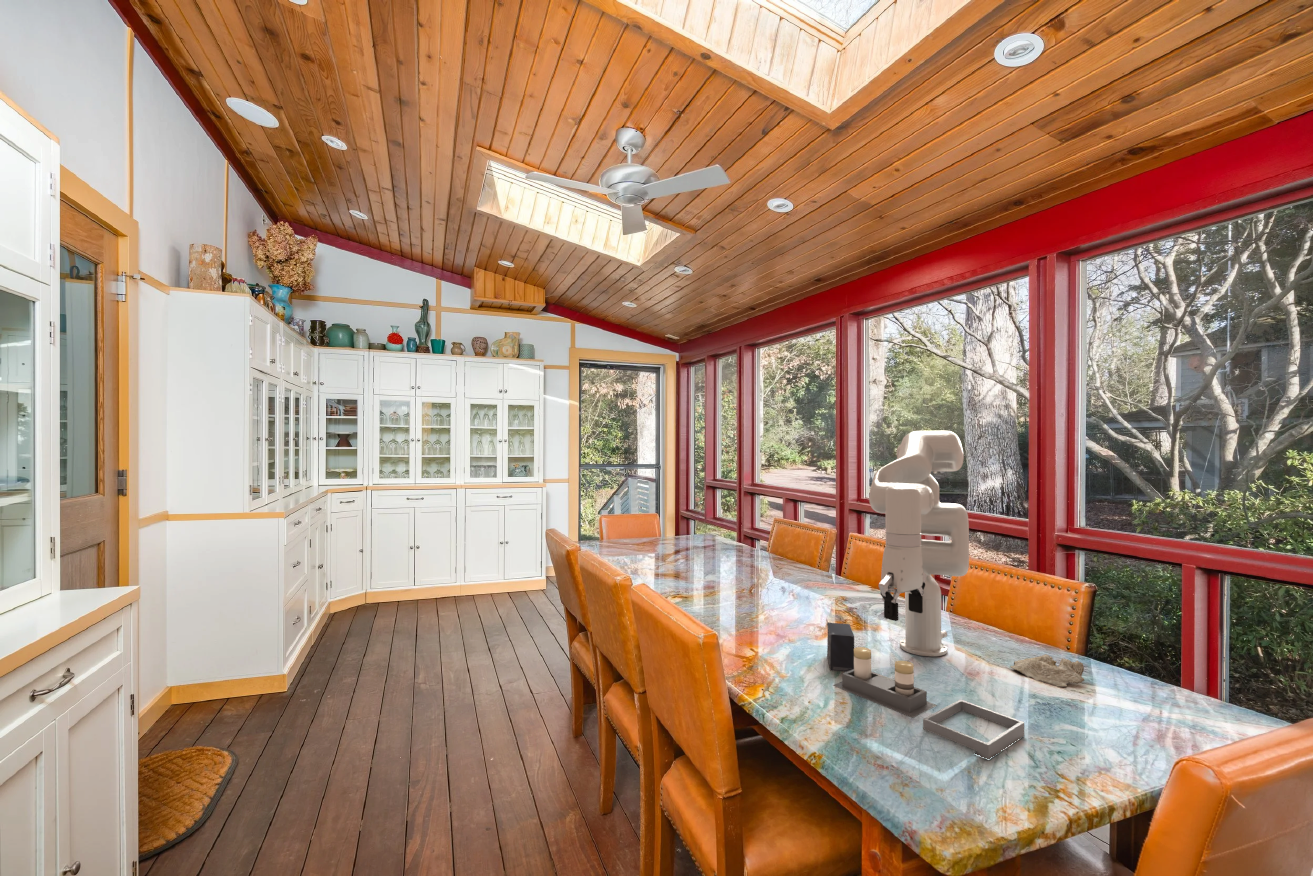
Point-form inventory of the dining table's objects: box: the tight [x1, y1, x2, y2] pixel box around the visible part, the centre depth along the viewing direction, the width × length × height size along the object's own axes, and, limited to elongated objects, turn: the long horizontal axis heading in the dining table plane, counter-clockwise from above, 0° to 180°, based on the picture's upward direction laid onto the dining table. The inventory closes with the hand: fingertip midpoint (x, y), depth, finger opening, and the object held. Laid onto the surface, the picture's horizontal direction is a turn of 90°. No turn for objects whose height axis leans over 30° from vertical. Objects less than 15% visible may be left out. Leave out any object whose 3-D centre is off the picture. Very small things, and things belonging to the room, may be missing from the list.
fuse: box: [854, 646, 872, 681], centre depth 145 cm, size 4×4×9 cm
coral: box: [1009, 654, 1085, 688], centre depth 155 cm, size 18×16×5 cm
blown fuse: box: [894, 660, 915, 697], centre depth 136 cm, size 4×4×9 cm
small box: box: [826, 621, 855, 672], centre depth 160 cm, size 11×6×10 cm, turn 168°
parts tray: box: [922, 699, 1025, 759], centre depth 124 cm, size 15×13×3 cm
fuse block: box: [832, 669, 938, 719], centre depth 141 cm, size 10×21×4 cm, turn 36°
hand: (903, 615), depth 136 cm, fingers open, 9 cm apart
